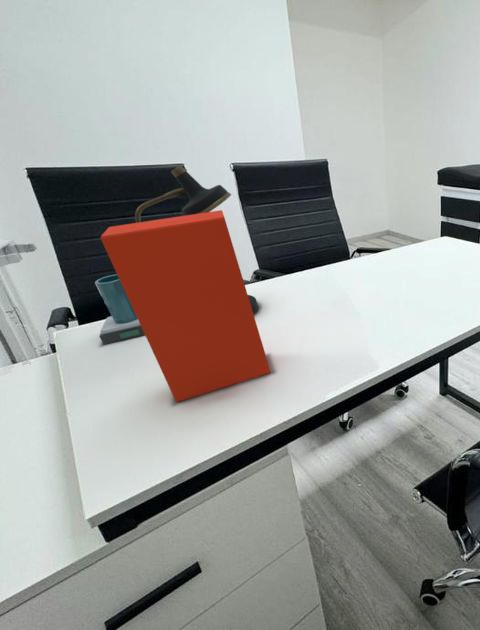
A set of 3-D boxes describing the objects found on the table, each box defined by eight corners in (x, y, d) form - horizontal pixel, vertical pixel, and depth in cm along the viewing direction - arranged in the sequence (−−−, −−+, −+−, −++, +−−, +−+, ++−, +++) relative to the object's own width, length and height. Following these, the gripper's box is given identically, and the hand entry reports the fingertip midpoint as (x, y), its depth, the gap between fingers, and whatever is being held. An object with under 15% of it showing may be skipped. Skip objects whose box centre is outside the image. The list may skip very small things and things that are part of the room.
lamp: (265, 317, 103) (221, 163, 85) (173, 339, 95) (105, 175, 78) (260, 296, 116) (222, 159, 98) (180, 314, 109) (122, 169, 91)
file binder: (271, 373, 79) (224, 217, 64) (176, 403, 72) (99, 236, 58) (265, 355, 85) (221, 209, 71) (178, 381, 79) (109, 226, 64)
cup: (112, 326, 96) (92, 285, 91) (116, 316, 101) (97, 277, 96) (142, 319, 99) (124, 279, 94) (144, 310, 104) (128, 272, 99)
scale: (103, 345, 95) (96, 333, 93) (110, 328, 103) (105, 317, 102) (159, 332, 99) (153, 320, 98) (162, 316, 108) (157, 305, 106)
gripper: (-98, 264, 71) (0, 249, 76) (-42, 239, 87) (35, 228, 93) (-75, 295, 74) (18, 278, 79) (-26, 266, 90) (48, 253, 95)
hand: (27, 251), depth 86 cm, fingers open, 8 cm apart
